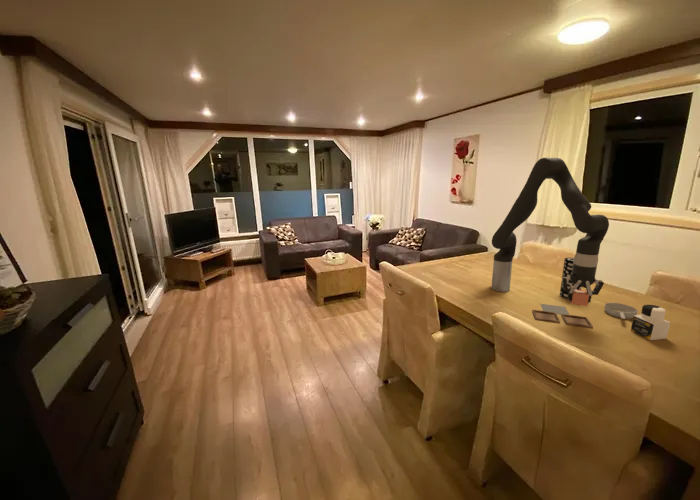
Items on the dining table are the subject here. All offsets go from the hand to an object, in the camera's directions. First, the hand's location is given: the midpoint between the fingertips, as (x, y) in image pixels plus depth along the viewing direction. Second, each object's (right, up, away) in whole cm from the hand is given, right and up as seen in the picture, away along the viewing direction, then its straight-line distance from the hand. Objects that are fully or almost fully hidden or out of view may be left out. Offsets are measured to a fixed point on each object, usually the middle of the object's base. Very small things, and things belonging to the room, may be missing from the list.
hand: (578, 301), depth 120 cm
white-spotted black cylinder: (+18, -3, +28) cm, 33 cm away
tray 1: (-9, -9, +7) cm, 14 cm away
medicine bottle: (+19, -11, -10) cm, 25 cm away
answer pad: (0, -7, +14) cm, 15 cm away
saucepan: (+22, -8, +4) cm, 24 cm away
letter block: (0, -1, 0) cm, 1 cm away
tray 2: (+1, -9, +2) cm, 10 cm away
